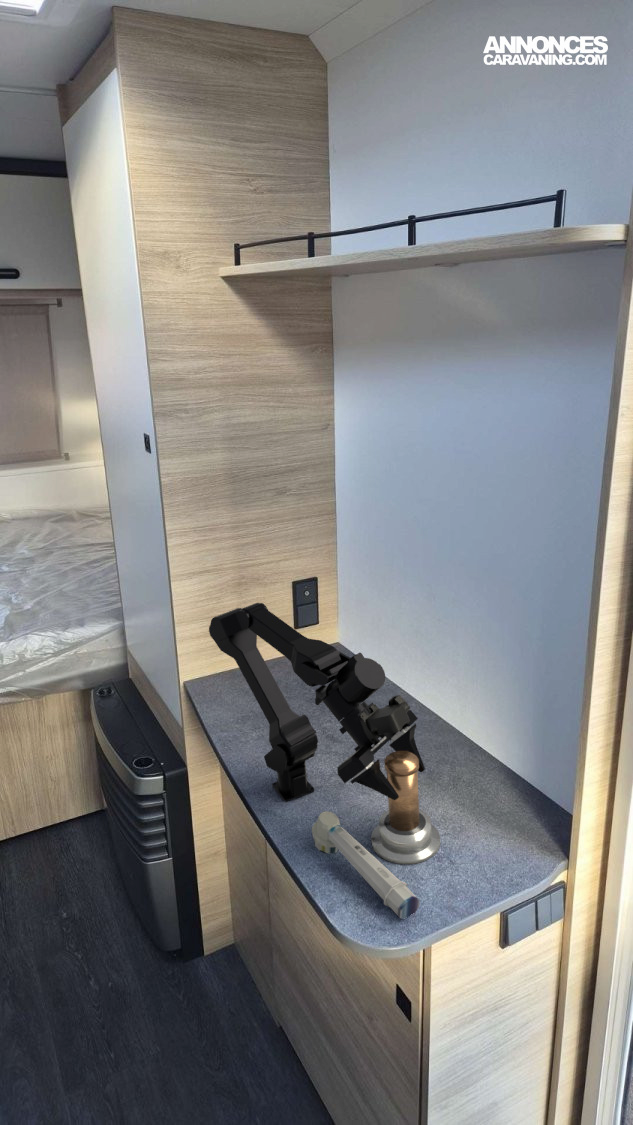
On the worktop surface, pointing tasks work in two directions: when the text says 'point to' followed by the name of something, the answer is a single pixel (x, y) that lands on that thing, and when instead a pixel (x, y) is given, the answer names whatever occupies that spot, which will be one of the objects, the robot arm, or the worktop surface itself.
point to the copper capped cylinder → (403, 789)
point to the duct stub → (405, 841)
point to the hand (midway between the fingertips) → (410, 784)
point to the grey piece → (364, 864)
